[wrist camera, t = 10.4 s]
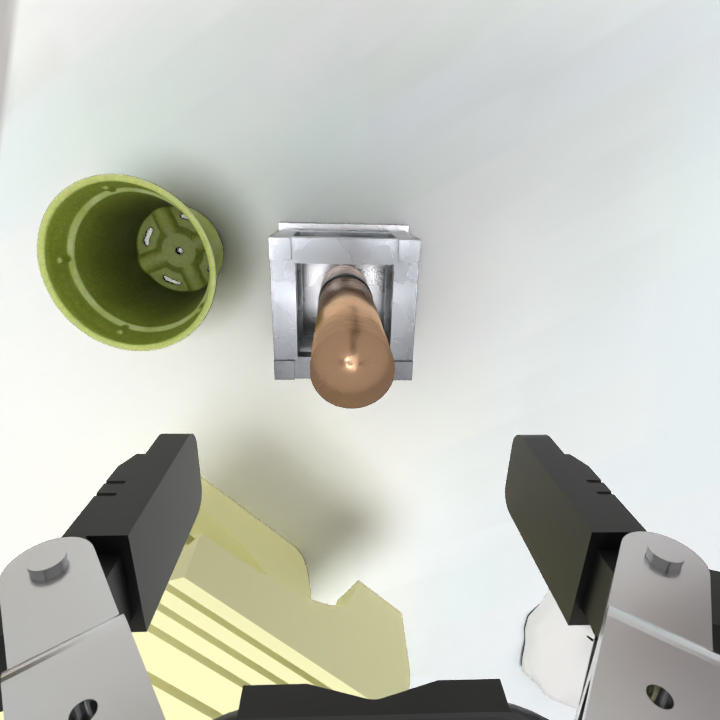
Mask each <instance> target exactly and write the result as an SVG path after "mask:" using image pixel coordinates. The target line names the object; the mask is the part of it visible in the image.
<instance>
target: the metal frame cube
mask: <svg viewBox="0 0 720 720" xmlns="http://www.w3.org/2000/svg"><path fill="white" fill-rule="evenodd" d="M268 241H269V260H270V273H271V295H272V317H273V340H274V373H275V379H277V380H295V378H311V377H310V360H311V353H312V346H313V339H314V332H315V325H316V318H317V311H318V298H319V293H320V290H321V284H322V280H323V278H324V276H325V275H326V274H327V273H328V272H329V271H330V270H331V269H333V268H335V267H337V266H343V265H346V266H351V267H354V268H356V269H357V270H359V271H360V272H361V273H362V274H363V275H364V277H365V279H366V281H367V284H368V286H369V288H370V290H371V293H372V296H373V301H374V304H375V306H376V309H377V312H378V315H379V318H380V321H381V323H382V326H383V329H384V332H385V335H386V337H387V340H388V343H389V346H390V349H391V351H392V354H393V358H394V362H395V374H394V379H393V380H412V368H413V361H412V359H413V345H414V330H415V315H416V300H417V285H418V270H419V262H420V249H421V240H419V239H418V238H416V237H415V236H413V235H411V234H410V233H409V226H408V225H392V224H344V223H296V222H280V223H279V231H277V232H276V233H274V234H273V235H271V236H270V237H268Z"/></svg>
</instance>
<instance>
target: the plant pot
mask: <svg viewBox="0 0 720 720" xmlns="http://www.w3.org/2000/svg"><path fill="white" fill-rule="evenodd" d="M181 214H185V215H186V217H187V218H188V219H189V220H190V221H189V220H186V219H182V218H181V217H180V215H181ZM149 228H153V232H152V234H151V236H150V239H149V245H148V246H145V244H144V237H145V234H146V231H147V230H148V229H149ZM177 247H179V248H181V249H182V250H183V254H177V253H176V252H175V250H176V248H177ZM223 255H224V253H223V245H222V242H221V240H220V237H219V235H218V233H217V231H216V229H215V227H214V226H213V224H212V223H211V222H210V221H209V220H208V219H207V218H206V217H205V216H203V215H202V214H201V213H199V212H198V211H196V210H194V209H192V208H189V207H187V206H186V205H185V204H184V203H182V202H181V201H180V200H179V199H178V198H176V197H175V196H174V195H173V194H171V193H170V192H168V191H167V190H165V189H163V188H161V187H160V186H158V185H156V184H154V183H151V182H149V181H146V180H143V179H140V178H137V177H132V176H128V175H120V174H102V175H96V176H91V177H88V178H85V179H82V180H79V181H77V182H75V183H73V184H71V185H70V186H68V187H67V188H65V189H64V190H63V191H61V192H60V193H59V194H58V195H57V196H56V197H55V198H54V200H53V201H52V202H51V204H50V205H49V207H48V208H47V210H46V212H45V214H44V216H43V218H42V221H41V225H40V229H39V233H38V241H37V257H38V263H39V267H40V272H41V276H42V278H43V282H44V284H45V286H46V288H47V290H48V292H49V294H50V296H51V298H52V300H53V302H54V303H55V305H56V306H57V307H58V309H59V310H60V311H61V312H62V314H63V315H64V316H65V317H66V318H67V319H68V320H69V321H70V322H71V323H72V324H74V325H75V326H76V327H77V328H78V329H80V330H81V331H82V332H84V333H85V334H87V335H88V336H90V337H92V338H93V339H95V340H97V341H99V342H102V343H104V344H107V345H109V346H113V347H115V348H120V349H124V350H132V351H149V350H156V349H161V348H164V347H168V346H170V345H173V344H175V343H177V342H179V341H181V340H183V339H184V338H186V337H187V336H189V335H190V334H191V333H192V332H193V331H194V330H195V329H196V328H197V327H198V326H199V325H200V324H201V323H202V321H203V320H204V318H205V317H206V315H207V313H208V312H209V310H210V308H211V305H212V303H213V299H214V296H215V291H216V282H217V276H218V274H219V272H220V270H221V267H222V264H223ZM208 267H209V272H208V271H207V269H208ZM163 275H165V276H167V277H169V278H171V279H173V280H175V281H179V282H181V284H179V285H175V284H172V283H169V282H167V281H165V280H164V278H163Z"/></svg>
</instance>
